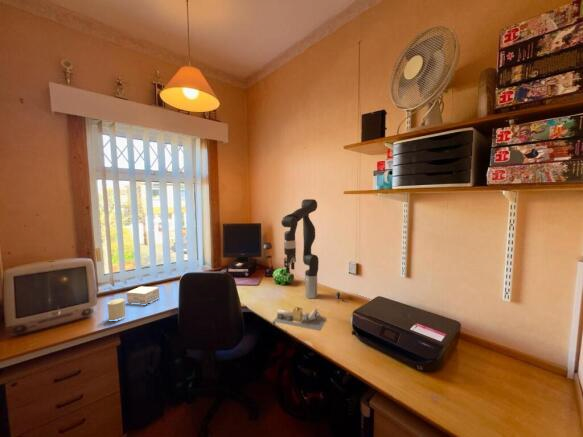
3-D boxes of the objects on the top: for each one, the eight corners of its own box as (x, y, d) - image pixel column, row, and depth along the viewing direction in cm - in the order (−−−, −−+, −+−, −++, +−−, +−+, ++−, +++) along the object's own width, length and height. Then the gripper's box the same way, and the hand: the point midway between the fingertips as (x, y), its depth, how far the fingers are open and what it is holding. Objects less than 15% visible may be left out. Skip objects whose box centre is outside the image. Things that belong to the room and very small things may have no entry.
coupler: (293, 321, 146) (293, 309, 146) (295, 317, 151) (295, 305, 150) (300, 322, 145) (299, 310, 144) (302, 318, 149) (302, 307, 148)
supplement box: (159, 298, 187) (159, 287, 187) (146, 306, 175) (145, 293, 174) (141, 297, 191) (141, 285, 190) (127, 304, 178) (126, 292, 178)
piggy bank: (286, 287, 206) (286, 270, 205) (269, 284, 216) (269, 267, 215) (295, 282, 218) (295, 266, 217) (279, 279, 228) (278, 264, 227)
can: (105, 320, 154) (103, 302, 153) (119, 314, 162) (118, 297, 161) (114, 323, 150) (113, 304, 149) (129, 316, 159) (128, 298, 158)
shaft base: (283, 311, 162) (283, 303, 161) (327, 319, 150) (327, 310, 150) (272, 323, 147) (272, 314, 146) (320, 332, 136) (320, 322, 135)
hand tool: (359, 338, 130) (359, 330, 129) (351, 337, 131) (351, 328, 131) (364, 322, 147) (364, 315, 146) (357, 321, 149) (357, 313, 148)
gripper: (288, 244, 166) (289, 267, 167) (280, 248, 153) (280, 273, 154) (299, 245, 163) (299, 268, 164) (291, 249, 150) (291, 274, 151)
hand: (290, 271), depth 159 cm, fingers open, 8 cm apart
